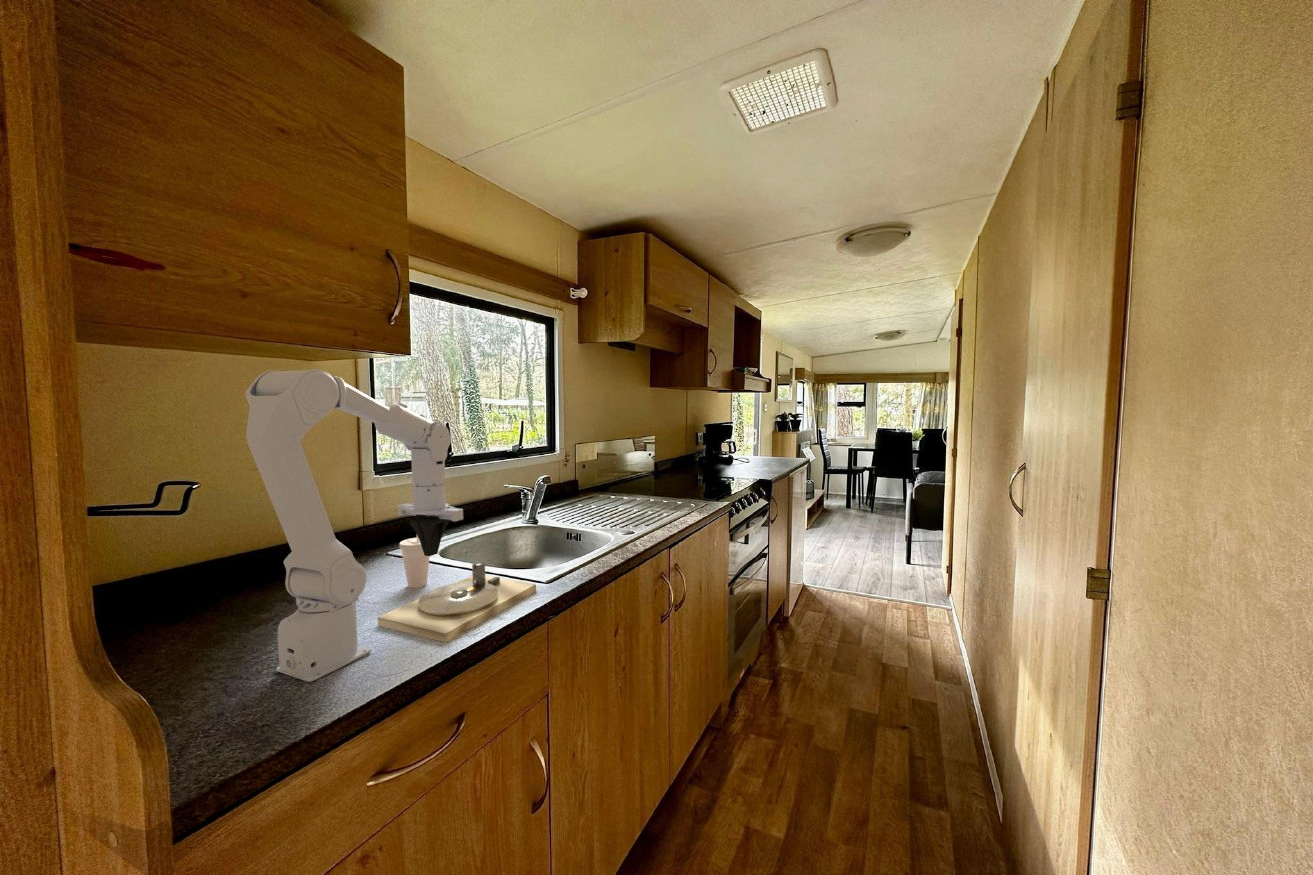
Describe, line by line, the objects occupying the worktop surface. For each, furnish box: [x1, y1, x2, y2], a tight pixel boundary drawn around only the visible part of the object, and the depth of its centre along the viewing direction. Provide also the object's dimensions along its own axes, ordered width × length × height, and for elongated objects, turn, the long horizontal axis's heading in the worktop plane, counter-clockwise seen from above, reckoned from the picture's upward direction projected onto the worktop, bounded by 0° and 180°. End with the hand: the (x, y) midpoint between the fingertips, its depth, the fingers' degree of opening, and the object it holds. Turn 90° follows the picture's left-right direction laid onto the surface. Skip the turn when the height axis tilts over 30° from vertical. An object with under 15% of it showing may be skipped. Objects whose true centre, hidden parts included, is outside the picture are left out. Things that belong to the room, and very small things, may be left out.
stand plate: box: [377, 575, 537, 643], centre depth 95 cm, size 24×16×3 cm, turn 157°
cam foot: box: [418, 561, 498, 616], centre depth 94 cm, size 14×14×5 cm
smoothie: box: [399, 535, 431, 589], centre depth 106 cm, size 6×6×14 cm
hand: (431, 554), depth 94 cm, fingers closed
